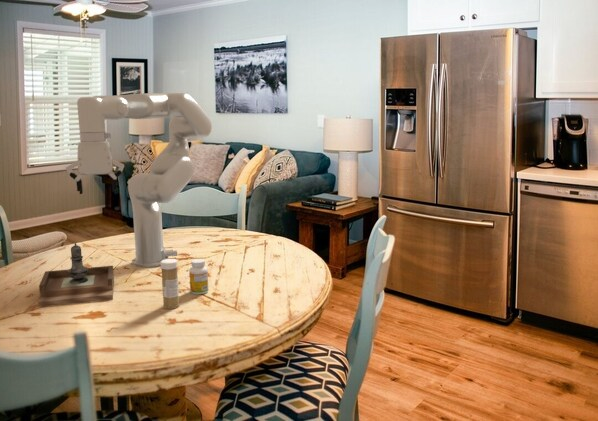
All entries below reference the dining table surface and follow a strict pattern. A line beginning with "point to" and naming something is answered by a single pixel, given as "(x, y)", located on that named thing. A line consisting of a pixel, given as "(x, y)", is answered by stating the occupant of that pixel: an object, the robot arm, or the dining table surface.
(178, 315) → the dining table surface
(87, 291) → the wooden tray
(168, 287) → the sprinkles bottle
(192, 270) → the supplement bottle
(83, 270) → the salt shaker
